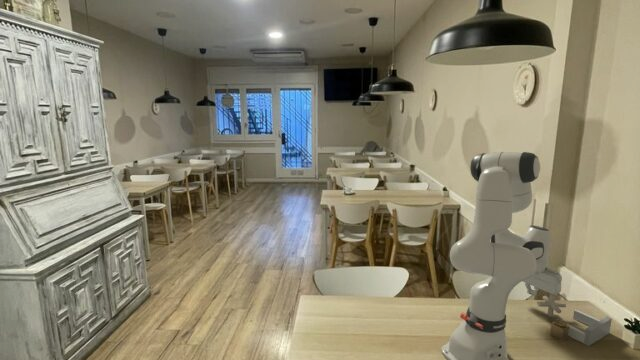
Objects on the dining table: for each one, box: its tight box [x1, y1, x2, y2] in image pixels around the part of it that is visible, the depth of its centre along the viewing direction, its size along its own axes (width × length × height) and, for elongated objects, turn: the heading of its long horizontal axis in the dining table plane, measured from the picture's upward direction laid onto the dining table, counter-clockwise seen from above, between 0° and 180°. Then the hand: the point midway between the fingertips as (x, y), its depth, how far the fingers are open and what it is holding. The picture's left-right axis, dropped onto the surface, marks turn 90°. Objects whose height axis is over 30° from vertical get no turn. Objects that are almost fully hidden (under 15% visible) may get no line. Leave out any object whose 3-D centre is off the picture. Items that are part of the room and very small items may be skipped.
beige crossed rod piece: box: [536, 293, 567, 318], centre depth 138 cm, size 10×10×10 cm
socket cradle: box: [556, 309, 613, 347], centre depth 129 cm, size 15×12×6 cm
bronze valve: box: [549, 319, 570, 342], centre depth 126 cm, size 4×4×6 cm
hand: (531, 294), depth 145 cm, fingers closed
